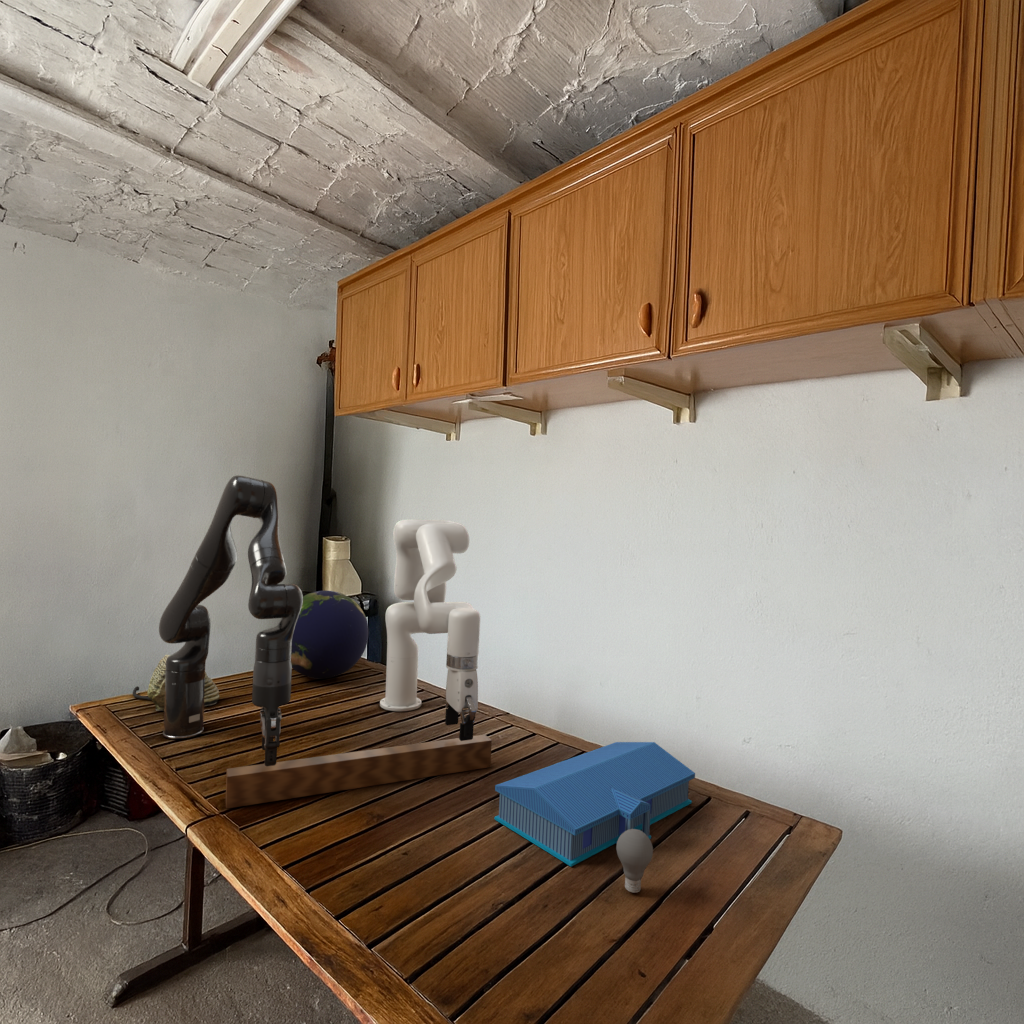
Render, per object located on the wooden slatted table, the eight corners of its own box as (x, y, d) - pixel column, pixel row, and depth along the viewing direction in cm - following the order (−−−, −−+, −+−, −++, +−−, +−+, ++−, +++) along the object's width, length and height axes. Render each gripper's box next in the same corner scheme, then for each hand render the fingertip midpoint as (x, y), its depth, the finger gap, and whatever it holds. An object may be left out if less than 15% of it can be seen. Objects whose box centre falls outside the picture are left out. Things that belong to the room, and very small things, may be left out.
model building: (584, 875, 109) (587, 817, 109) (492, 818, 128) (494, 769, 127) (705, 808, 136) (707, 762, 136) (614, 769, 154) (616, 728, 154)
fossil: (144, 707, 182) (145, 655, 182) (212, 696, 194) (213, 647, 194) (151, 716, 175) (153, 662, 175) (221, 703, 188) (223, 653, 188)
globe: (256, 681, 211) (260, 592, 211) (316, 661, 239) (319, 582, 238) (330, 695, 200) (333, 601, 199) (383, 673, 228) (386, 590, 227)
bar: (226, 808, 127) (227, 776, 127) (225, 799, 131) (226, 768, 131) (490, 767, 152) (491, 740, 152) (484, 760, 156) (485, 734, 156)
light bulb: (610, 879, 108) (613, 822, 108) (644, 879, 109) (647, 822, 109) (619, 902, 102) (622, 840, 102) (655, 901, 103) (658, 840, 103)
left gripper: (295, 688, 127) (291, 768, 127) (287, 669, 140) (284, 742, 140) (254, 691, 124) (251, 773, 124) (251, 671, 136) (247, 746, 137)
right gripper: (491, 670, 144) (487, 744, 145) (464, 650, 159) (460, 717, 160) (460, 672, 141) (456, 748, 141) (435, 652, 156) (432, 720, 157)
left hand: (268, 756), depth 132 cm, fingers open, 8 cm apart
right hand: (458, 731), depth 151 cm, fingers open, 9 cm apart
